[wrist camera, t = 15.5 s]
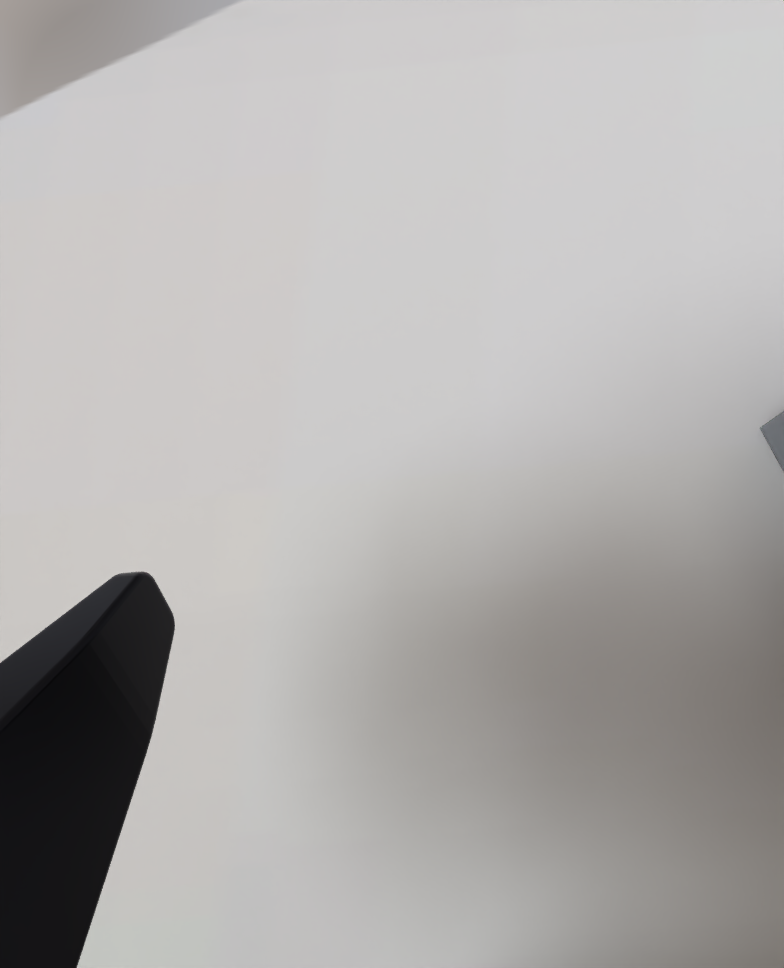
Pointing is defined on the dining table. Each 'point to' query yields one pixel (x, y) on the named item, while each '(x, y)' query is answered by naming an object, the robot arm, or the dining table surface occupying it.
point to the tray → (776, 436)
